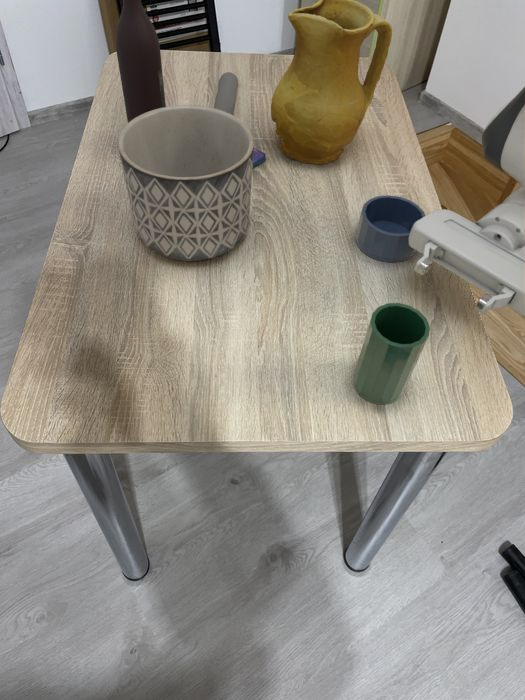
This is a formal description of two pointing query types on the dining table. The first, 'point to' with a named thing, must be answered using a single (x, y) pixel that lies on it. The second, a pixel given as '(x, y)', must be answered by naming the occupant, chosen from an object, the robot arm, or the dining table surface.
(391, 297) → the dining table surface
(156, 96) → the wine bottle
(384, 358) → the slim cup
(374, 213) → the wide cup
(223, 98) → the gray half cylinder
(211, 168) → the planter
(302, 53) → the pitcher
